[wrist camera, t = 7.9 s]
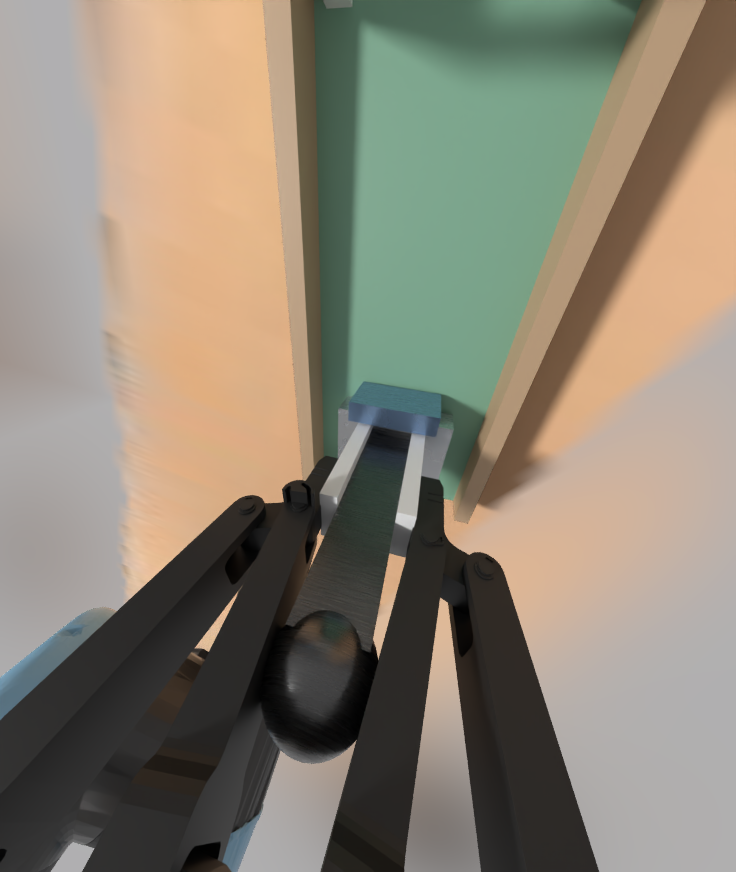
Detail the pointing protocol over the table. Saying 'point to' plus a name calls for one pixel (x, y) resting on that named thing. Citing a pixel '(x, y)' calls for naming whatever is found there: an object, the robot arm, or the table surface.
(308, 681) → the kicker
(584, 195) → the pitch
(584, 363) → the table surface
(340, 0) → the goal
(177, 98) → the table surface
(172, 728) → the robot arm
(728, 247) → the table surface
